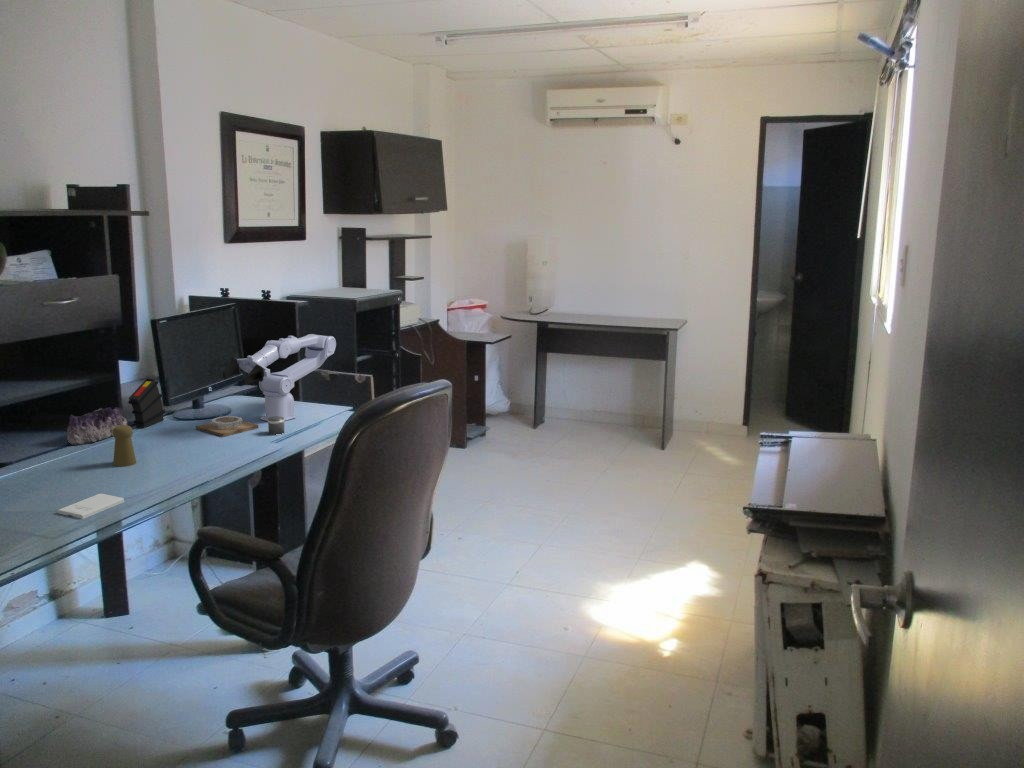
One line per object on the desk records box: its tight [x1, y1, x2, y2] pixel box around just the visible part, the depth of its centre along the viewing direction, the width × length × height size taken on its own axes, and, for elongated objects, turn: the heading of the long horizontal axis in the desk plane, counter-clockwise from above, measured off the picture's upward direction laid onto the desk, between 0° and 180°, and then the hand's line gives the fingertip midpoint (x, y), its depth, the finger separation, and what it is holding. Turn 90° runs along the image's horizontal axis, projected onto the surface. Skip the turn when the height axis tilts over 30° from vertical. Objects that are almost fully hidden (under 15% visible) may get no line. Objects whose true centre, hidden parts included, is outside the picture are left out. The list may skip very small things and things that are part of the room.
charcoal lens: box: [267, 416, 285, 436], centre depth 269 cm, size 5×5×5 cm
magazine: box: [127, 378, 166, 429], centre depth 273 cm, size 4×13×15 cm, turn 168°
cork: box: [112, 424, 137, 468], centre depth 234 cm, size 6×6×11 cm
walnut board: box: [195, 420, 259, 438], centre depth 273 cm, size 14×14×1 cm
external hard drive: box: [56, 493, 125, 520], centre depth 202 cm, size 2×8×12 cm
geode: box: [66, 406, 128, 447], centre depth 258 cm, size 20×12×10 cm, turn 167°
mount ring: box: [211, 415, 243, 430], centre depth 273 cm, size 9×9×2 cm
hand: (233, 378), depth 264 cm, fingers open, 7 cm apart
